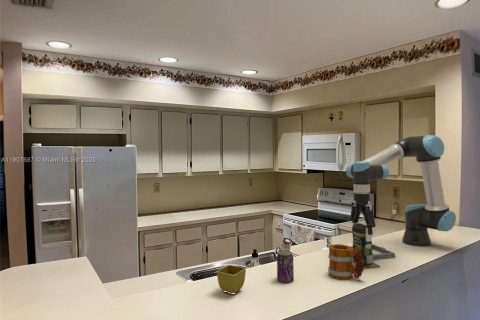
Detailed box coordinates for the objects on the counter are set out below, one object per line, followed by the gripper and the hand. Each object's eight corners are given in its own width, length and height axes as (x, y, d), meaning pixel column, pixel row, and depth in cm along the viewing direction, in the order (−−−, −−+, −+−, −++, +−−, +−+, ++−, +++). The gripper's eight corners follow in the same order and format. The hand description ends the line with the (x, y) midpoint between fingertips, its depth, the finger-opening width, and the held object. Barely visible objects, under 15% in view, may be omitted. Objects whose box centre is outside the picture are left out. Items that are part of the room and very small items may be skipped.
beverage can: (283, 284, 134) (283, 256, 134) (274, 279, 141) (273, 251, 141) (297, 281, 138) (296, 253, 138) (287, 276, 144) (286, 249, 144)
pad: (365, 259, 164) (365, 258, 164) (379, 267, 153) (379, 265, 153) (346, 262, 161) (346, 260, 161) (359, 269, 150) (359, 267, 150)
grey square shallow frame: (373, 248, 183) (373, 243, 183) (395, 257, 166) (394, 251, 166) (347, 251, 179) (347, 245, 179) (366, 260, 162) (366, 254, 162)
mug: (335, 269, 152) (334, 237, 151) (369, 278, 140) (369, 244, 140) (322, 275, 144) (322, 242, 144) (358, 285, 132) (357, 249, 132)
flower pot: (235, 298, 122) (234, 275, 122) (216, 293, 127) (216, 271, 127) (246, 290, 130) (246, 268, 130) (228, 285, 134) (228, 264, 134)
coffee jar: (349, 260, 161) (348, 223, 160) (362, 258, 163) (362, 221, 163) (362, 266, 151) (361, 227, 151) (376, 264, 154) (375, 225, 154)
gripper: (342, 190, 166) (343, 233, 167) (369, 195, 145) (370, 245, 145) (355, 190, 168) (355, 232, 169) (383, 195, 147) (384, 243, 147)
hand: (362, 238), depth 157 cm, fingers closed on coffee jar, 9 cm apart
